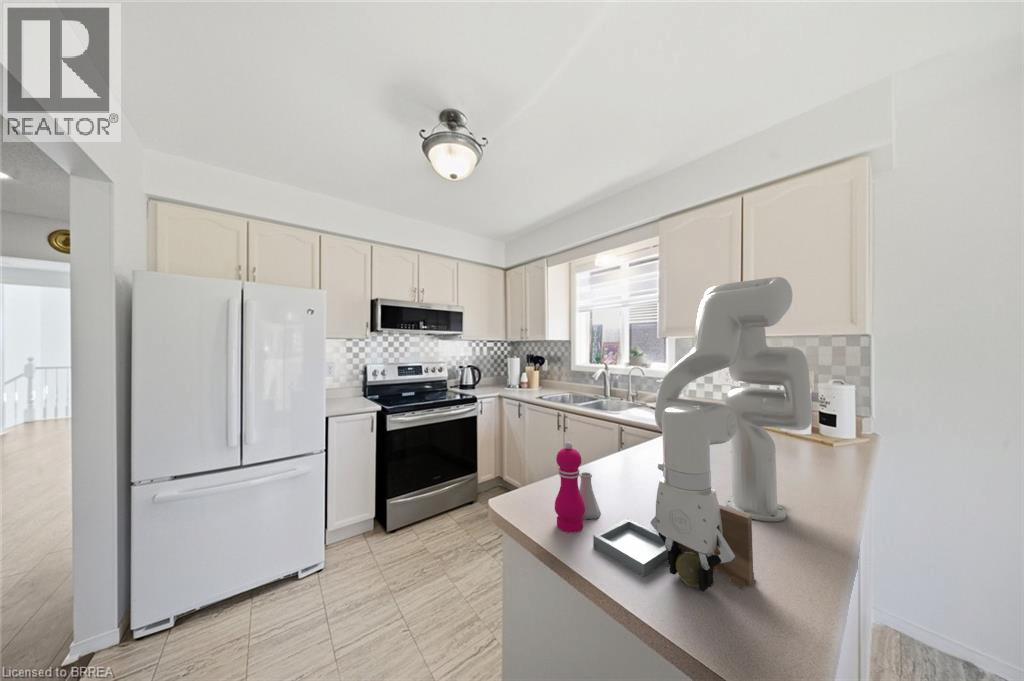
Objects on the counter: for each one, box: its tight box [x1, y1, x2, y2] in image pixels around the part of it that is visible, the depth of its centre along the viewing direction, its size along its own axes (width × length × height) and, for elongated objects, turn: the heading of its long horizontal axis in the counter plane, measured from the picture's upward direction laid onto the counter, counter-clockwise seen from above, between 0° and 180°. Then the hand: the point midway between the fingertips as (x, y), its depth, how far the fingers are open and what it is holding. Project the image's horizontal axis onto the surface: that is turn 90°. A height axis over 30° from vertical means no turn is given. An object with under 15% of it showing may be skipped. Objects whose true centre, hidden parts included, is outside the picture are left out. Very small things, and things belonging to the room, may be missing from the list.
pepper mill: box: [554, 441, 585, 534], centre depth 80 cm, size 7×7×20 cm
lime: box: [676, 552, 701, 588], centre depth 60 cm, size 4×5×5 cm
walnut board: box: [678, 504, 755, 590], centre depth 65 cm, size 5×15×12 cm, turn 35°
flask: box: [579, 471, 602, 520], centre depth 86 cm, size 7×7×10 cm
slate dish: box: [592, 518, 668, 578], centre depth 70 cm, size 12×12×2 cm
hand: (690, 578), depth 60 cm, fingers closed on lime, 4 cm apart
